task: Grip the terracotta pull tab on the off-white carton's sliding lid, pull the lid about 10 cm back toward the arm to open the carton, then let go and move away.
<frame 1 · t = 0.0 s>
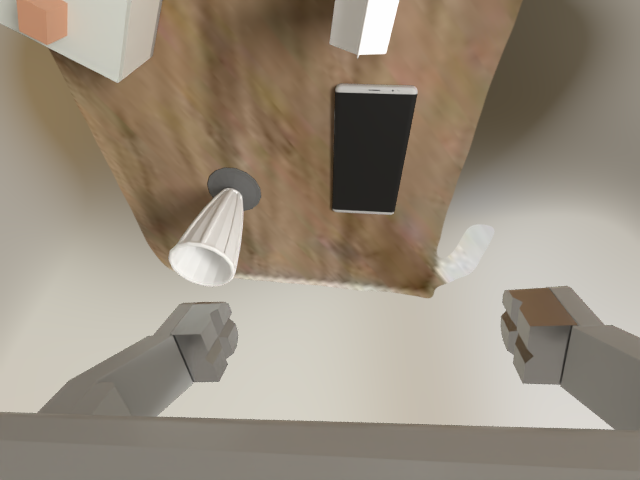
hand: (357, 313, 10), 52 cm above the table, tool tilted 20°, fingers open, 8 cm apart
cup: (234, 189, 74), on the table
smartphone: (368, 155, 66), on the table
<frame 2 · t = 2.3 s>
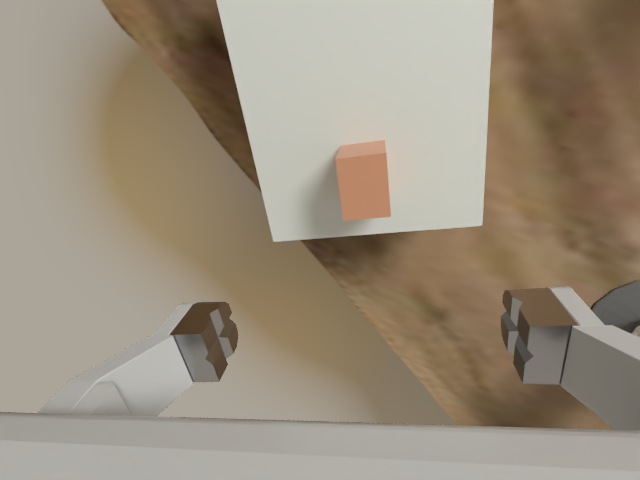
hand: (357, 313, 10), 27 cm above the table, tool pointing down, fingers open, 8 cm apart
cup: (639, 319, 39), on the table
lid: (355, 80, 21), point 13 cm above the table, slide at 0.0 cm
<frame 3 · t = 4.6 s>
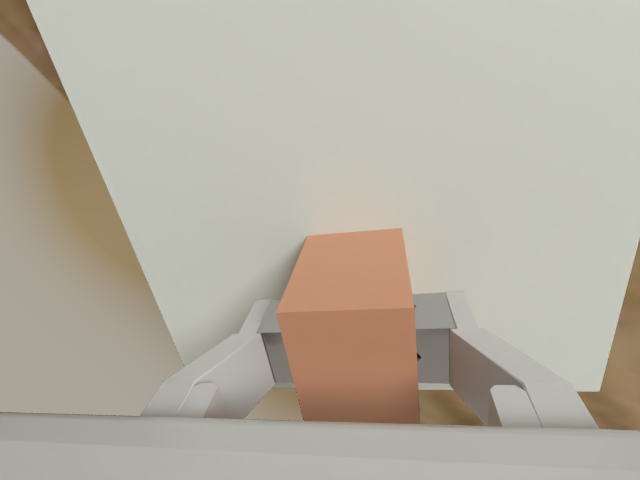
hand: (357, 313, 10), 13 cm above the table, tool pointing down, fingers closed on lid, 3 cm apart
lid: (329, 101, 8), point 13 cm above the table, slide at 0.0 cm, touching gripper
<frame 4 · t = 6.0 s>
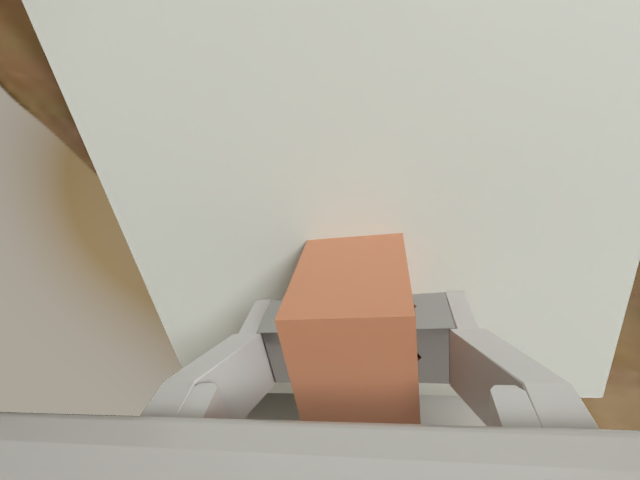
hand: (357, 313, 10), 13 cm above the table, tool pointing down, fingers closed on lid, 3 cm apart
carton: (366, 172, 21), on the table
lid: (329, 106, 8), point 13 cm above the table, slide at 5.0 cm, touching gripper
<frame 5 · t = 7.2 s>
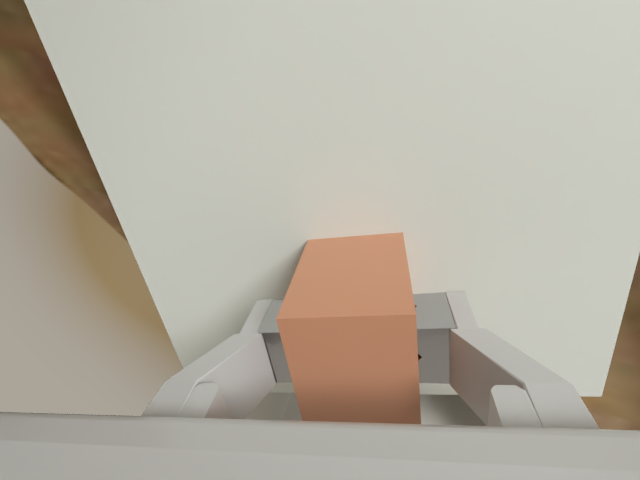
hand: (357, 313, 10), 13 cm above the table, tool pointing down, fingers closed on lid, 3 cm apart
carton: (373, 244, 23), on the table
lid: (330, 106, 8), point 13 cm above the table, slide at 10.0 cm, touching gripper
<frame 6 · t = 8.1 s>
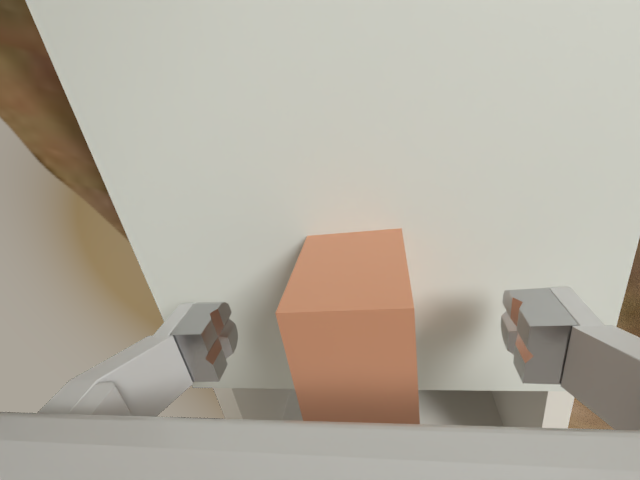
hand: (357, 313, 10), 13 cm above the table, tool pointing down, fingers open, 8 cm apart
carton: (372, 242, 23), on the table
lid: (329, 102, 8), point 13 cm above the table, slide at 10.0 cm
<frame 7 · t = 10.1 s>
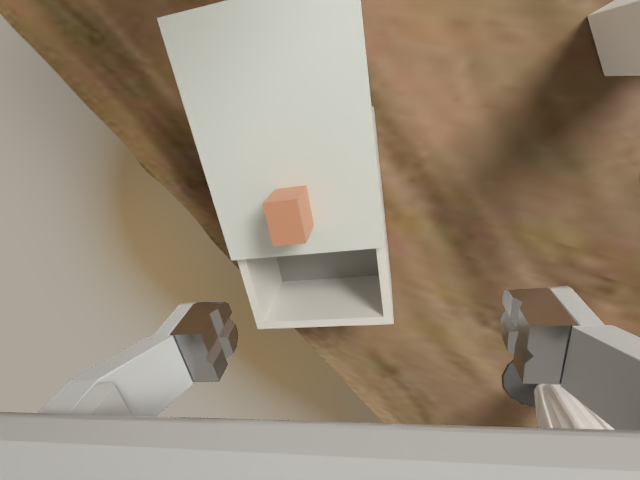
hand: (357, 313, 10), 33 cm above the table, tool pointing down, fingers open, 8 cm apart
cup: (544, 377, 50), on the table
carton: (320, 207, 44), on the table
milk: (629, 28, 32), on the table
lid: (277, 146, 29), point 13 cm above the table, slide at 10.0 cm
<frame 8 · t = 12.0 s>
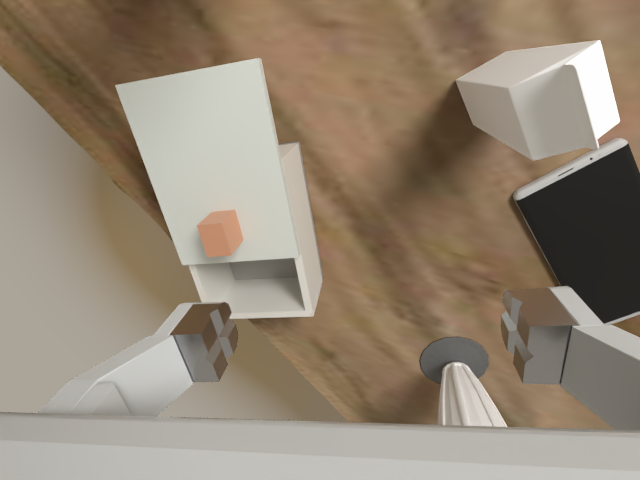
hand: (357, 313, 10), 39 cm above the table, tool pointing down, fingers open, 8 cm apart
cup: (453, 360, 61), on the table
smartphone: (596, 242, 48), on the table
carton: (262, 220, 54), on the table
milk: (488, 89, 42), on the table
lid: (208, 181, 38), point 13 cm above the table, slide at 10.0 cm
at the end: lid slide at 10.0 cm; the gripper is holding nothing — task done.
